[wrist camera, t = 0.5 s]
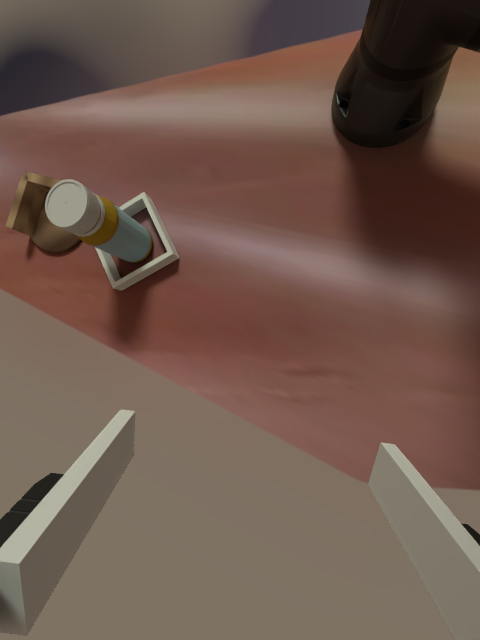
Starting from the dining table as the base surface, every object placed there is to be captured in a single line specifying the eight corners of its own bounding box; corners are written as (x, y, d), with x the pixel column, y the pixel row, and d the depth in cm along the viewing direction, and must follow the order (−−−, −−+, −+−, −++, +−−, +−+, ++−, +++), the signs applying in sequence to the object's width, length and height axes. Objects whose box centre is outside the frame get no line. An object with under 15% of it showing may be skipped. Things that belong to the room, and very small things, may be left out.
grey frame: (151, 199, 44) (144, 191, 42) (179, 257, 43) (173, 253, 41) (97, 233, 46) (86, 227, 44) (122, 290, 45) (112, 288, 42)
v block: (104, 228, 46) (85, 217, 42) (42, 266, 48) (18, 260, 44) (77, 167, 47) (56, 150, 43) (18, 206, 49) (-7, 194, 45)
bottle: (153, 263, 44) (88, 229, 29) (119, 264, 45) (40, 231, 30) (155, 226, 44) (92, 173, 29) (120, 227, 45) (43, 177, 30)
